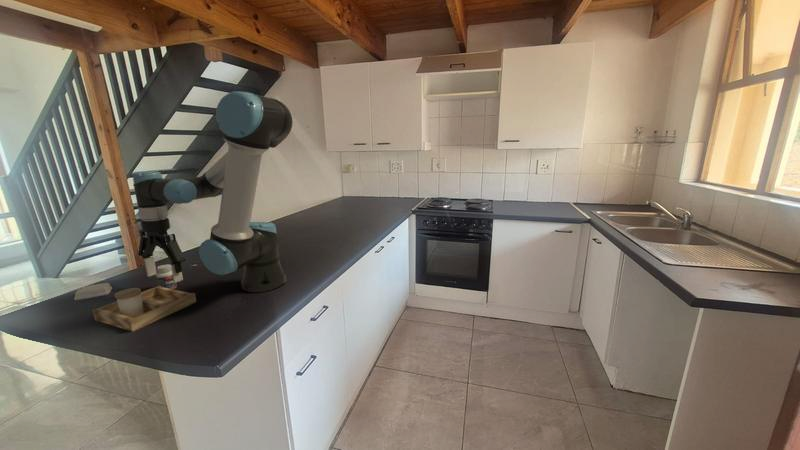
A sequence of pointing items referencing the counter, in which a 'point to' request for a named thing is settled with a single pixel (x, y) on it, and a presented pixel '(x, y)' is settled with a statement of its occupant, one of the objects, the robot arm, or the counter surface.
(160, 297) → the caddy
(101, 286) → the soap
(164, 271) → the pill bottle
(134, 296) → the jar
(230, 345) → the counter surface
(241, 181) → the robot arm
